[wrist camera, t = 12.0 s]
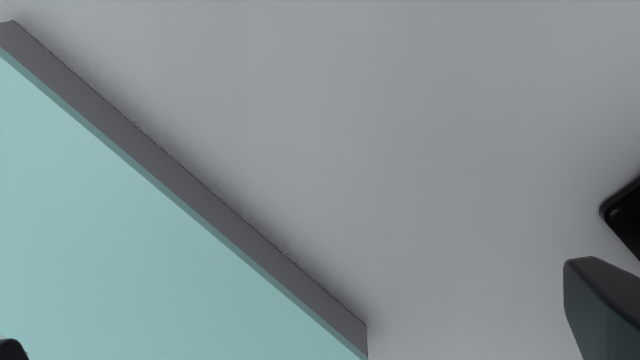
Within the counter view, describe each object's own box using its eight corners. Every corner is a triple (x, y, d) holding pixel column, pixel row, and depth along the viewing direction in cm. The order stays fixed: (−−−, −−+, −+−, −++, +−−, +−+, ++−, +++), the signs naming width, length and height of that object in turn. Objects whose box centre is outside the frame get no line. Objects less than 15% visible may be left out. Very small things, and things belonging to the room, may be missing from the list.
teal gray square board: (366, 326, 25) (368, 365, 23) (120, 508, 31) (102, 553, 29) (13, 20, 20) (-30, 31, 18) (-199, 307, 26) (-251, 343, 24)
